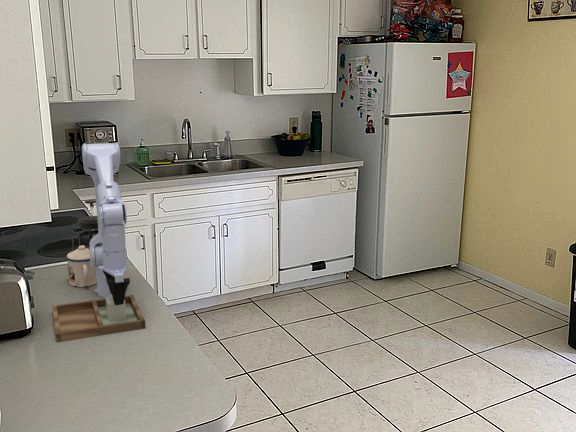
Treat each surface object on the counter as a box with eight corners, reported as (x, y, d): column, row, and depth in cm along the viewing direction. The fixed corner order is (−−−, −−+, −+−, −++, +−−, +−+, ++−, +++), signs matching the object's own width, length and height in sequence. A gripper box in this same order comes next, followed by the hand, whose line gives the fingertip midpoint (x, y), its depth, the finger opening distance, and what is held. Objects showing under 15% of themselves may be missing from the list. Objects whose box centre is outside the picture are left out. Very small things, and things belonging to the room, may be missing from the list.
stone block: (106, 314, 156) (105, 297, 155) (123, 312, 158) (122, 294, 156) (108, 321, 152) (107, 303, 151) (126, 318, 154) (125, 301, 153)
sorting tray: (53, 316, 157) (52, 305, 156) (133, 304, 165) (132, 294, 165) (57, 345, 141) (56, 334, 141) (145, 331, 150) (145, 320, 149)
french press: (109, 262, 198) (106, 196, 192) (115, 271, 190) (111, 202, 184) (73, 267, 193) (68, 199, 187) (77, 276, 185) (71, 205, 179)
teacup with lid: (67, 279, 183) (64, 243, 180) (97, 275, 187) (95, 240, 184) (70, 293, 173) (67, 255, 170) (103, 288, 176) (100, 251, 173)
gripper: (94, 242, 155) (97, 290, 159) (101, 260, 142) (104, 311, 146) (122, 239, 158) (124, 287, 161) (131, 256, 145) (133, 307, 149)
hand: (116, 298), depth 154 cm, fingers open, 7 cm apart
